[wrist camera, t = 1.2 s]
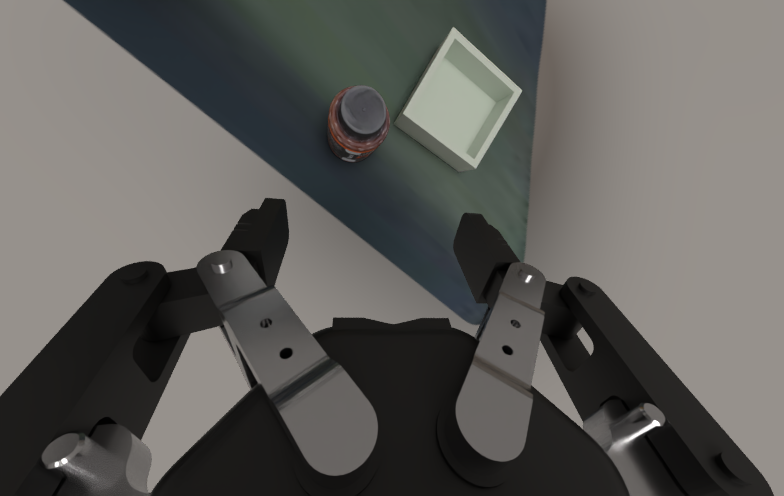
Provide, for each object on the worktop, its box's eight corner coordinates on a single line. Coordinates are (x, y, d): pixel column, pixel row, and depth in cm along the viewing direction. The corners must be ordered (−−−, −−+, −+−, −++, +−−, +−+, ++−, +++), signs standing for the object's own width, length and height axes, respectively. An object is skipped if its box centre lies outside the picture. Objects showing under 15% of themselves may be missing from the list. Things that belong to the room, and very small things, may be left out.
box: (393, 124, 35) (402, 113, 31) (437, 48, 35) (453, 27, 31) (458, 172, 39) (475, 168, 34) (500, 103, 38) (522, 90, 34)
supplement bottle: (357, 173, 35) (371, 161, 25) (317, 142, 34) (313, 114, 23) (384, 135, 35) (410, 106, 25) (345, 102, 34) (355, 55, 23)
